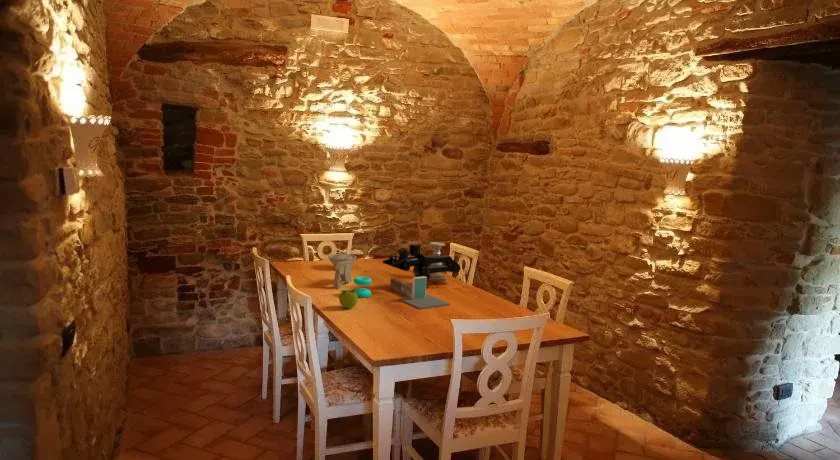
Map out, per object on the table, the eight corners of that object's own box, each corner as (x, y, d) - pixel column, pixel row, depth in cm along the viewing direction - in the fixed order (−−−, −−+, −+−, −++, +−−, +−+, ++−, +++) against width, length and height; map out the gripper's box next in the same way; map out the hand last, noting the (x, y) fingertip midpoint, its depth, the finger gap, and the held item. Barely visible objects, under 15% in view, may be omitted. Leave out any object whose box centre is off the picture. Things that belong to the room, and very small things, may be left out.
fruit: (358, 310, 266) (359, 290, 265) (340, 310, 264) (340, 291, 262) (355, 305, 275) (356, 286, 274) (337, 305, 272) (338, 286, 271)
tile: (423, 297, 294) (424, 276, 293) (425, 298, 293) (426, 277, 291) (411, 298, 290) (412, 277, 288) (413, 299, 288) (414, 278, 286)
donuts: (353, 275, 297) (371, 276, 298) (352, 293, 298) (370, 293, 300) (354, 280, 287) (372, 280, 289) (353, 298, 288) (371, 298, 290)
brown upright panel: (393, 288, 314) (394, 278, 313) (414, 297, 297) (415, 286, 296) (390, 288, 313) (390, 278, 312) (411, 297, 295) (411, 287, 294)
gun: (338, 289, 304) (339, 263, 303) (332, 289, 305) (334, 263, 304) (351, 284, 328) (353, 260, 327) (346, 283, 329) (348, 259, 328)
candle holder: (440, 277, 350) (442, 241, 347) (446, 281, 340) (448, 244, 337) (424, 277, 347) (426, 241, 344) (430, 281, 336) (432, 244, 333)
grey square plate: (428, 296, 301) (428, 294, 301) (450, 305, 285) (450, 303, 285) (398, 299, 289) (398, 298, 289) (419, 309, 273) (419, 307, 273)
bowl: (328, 265, 368) (328, 251, 366) (356, 266, 370) (356, 252, 369) (326, 271, 349) (327, 256, 347) (356, 272, 351) (356, 257, 350)
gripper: (401, 245, 319) (379, 247, 310) (419, 251, 303) (396, 252, 294) (400, 263, 320) (378, 265, 311) (418, 270, 305) (395, 272, 296)
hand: (386, 263), depth 303 cm, fingers open, 9 cm apart
